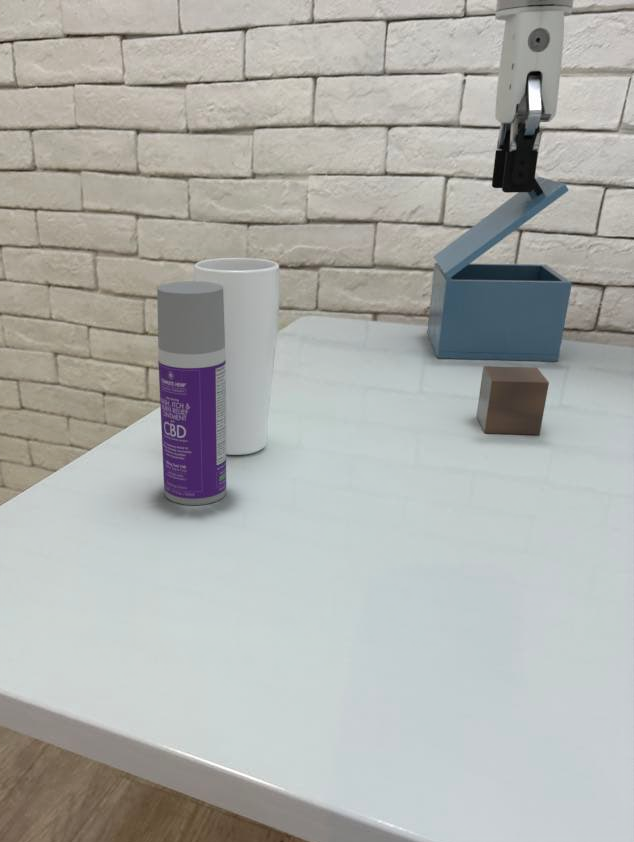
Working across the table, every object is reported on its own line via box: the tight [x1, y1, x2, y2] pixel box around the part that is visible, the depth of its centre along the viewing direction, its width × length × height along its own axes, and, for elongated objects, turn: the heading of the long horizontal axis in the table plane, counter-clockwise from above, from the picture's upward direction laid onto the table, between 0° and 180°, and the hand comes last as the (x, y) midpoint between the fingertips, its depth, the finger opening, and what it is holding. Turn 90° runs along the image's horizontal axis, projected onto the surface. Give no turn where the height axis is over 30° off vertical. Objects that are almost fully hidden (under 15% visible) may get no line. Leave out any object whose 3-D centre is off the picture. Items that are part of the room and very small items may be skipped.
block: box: [476, 365, 550, 436], centre depth 74 cm, size 5×5×5 cm
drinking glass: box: [193, 257, 281, 456], centre depth 67 cm, size 7×7×15 cm
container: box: [156, 280, 227, 506], centre depth 58 cm, size 5×5×15 cm
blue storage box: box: [426, 262, 573, 362], centre depth 98 cm, size 14×13×9 cm
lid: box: [433, 176, 570, 279], centre depth 94 cm, size 15×13×5 cm
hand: (511, 188), depth 92 cm, fingers closed on lid, 6 cm apart
